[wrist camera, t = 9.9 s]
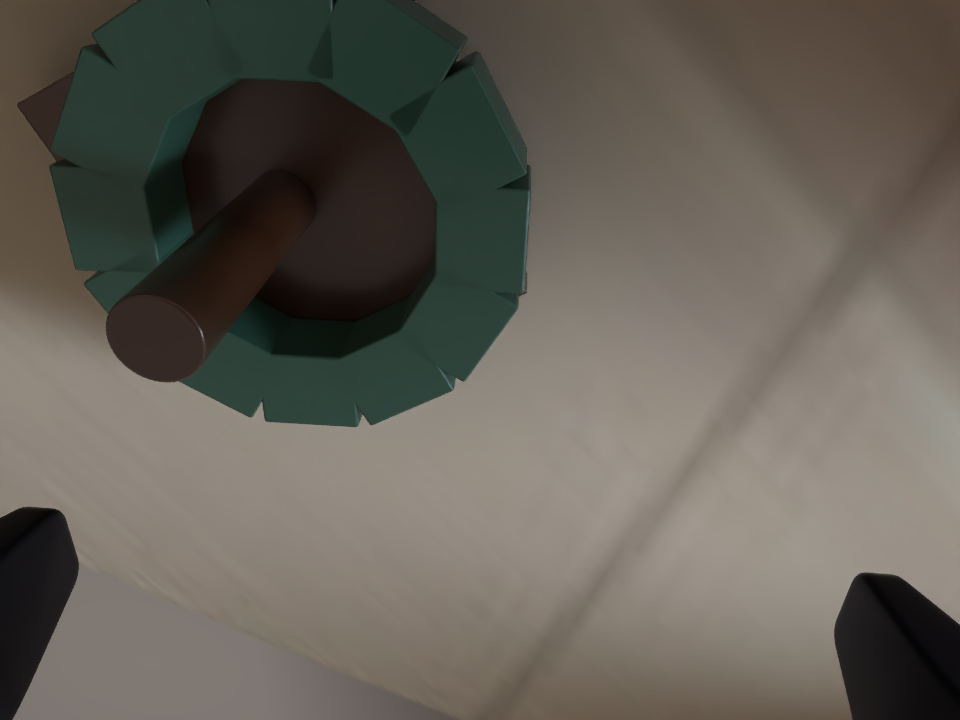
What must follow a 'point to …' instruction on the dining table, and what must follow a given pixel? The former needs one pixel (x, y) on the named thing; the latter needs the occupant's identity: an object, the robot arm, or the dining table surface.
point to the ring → (364, 82)
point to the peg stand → (272, 221)
